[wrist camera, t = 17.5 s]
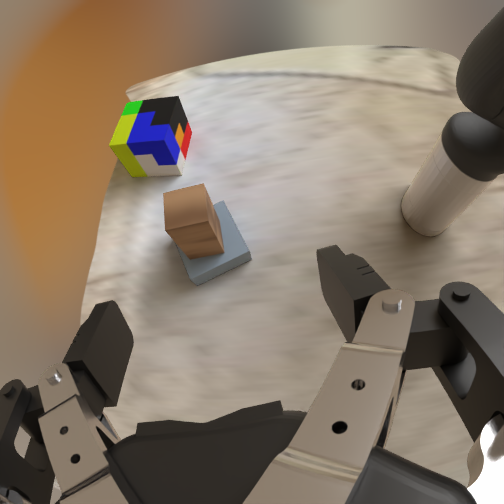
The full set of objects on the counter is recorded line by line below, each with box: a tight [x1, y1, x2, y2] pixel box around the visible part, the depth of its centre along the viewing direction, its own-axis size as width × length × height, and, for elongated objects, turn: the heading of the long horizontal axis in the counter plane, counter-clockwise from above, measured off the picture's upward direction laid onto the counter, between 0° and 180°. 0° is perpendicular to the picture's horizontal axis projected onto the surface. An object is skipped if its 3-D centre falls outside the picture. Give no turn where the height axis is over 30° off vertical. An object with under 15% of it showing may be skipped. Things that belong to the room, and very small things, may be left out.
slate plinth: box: [176, 201, 252, 286], centre depth 46 cm, size 9×9×4 cm
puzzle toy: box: [109, 96, 192, 177], centre depth 51 cm, size 10×10×10 cm
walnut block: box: [163, 183, 225, 260], centre depth 40 cm, size 5×5×10 cm
